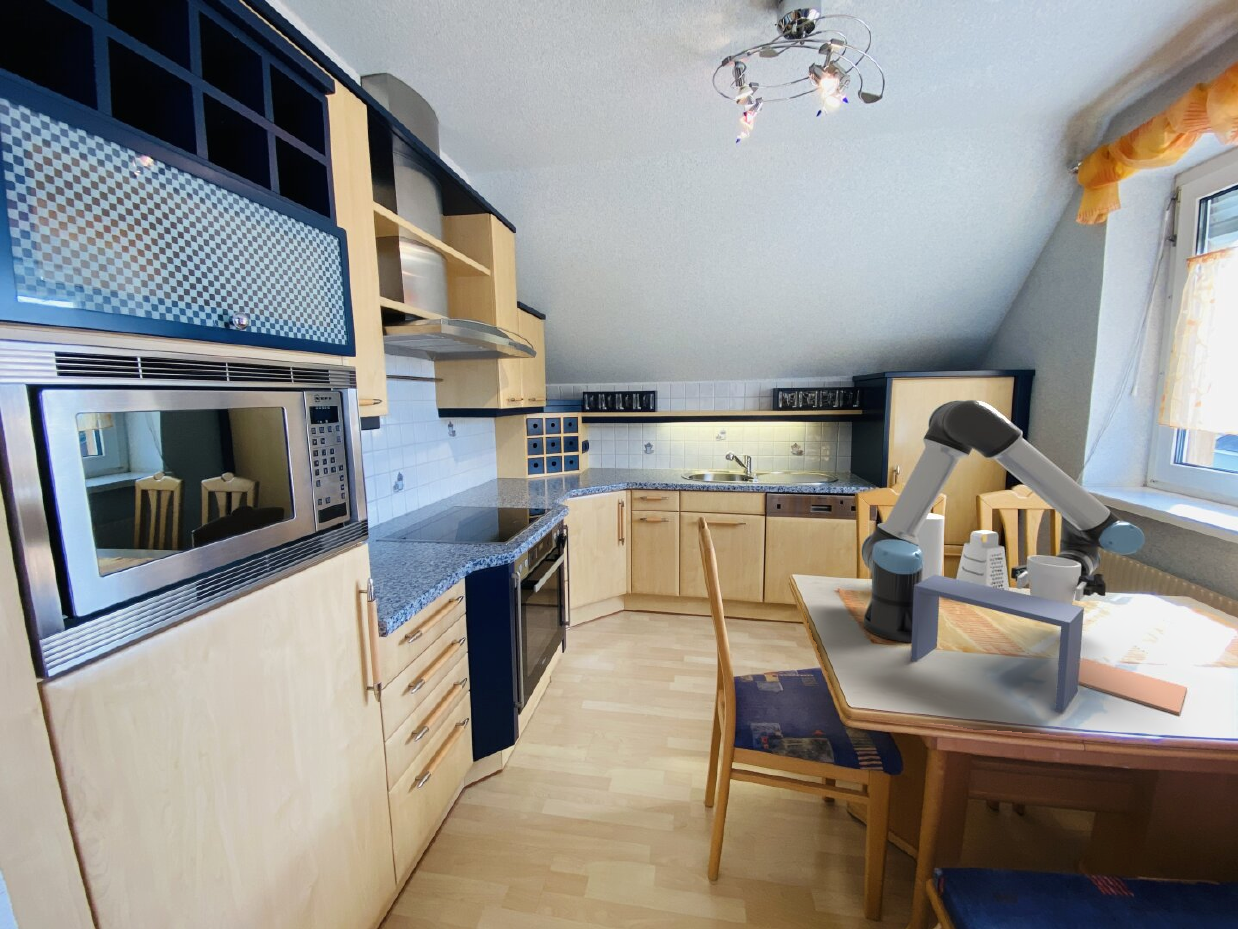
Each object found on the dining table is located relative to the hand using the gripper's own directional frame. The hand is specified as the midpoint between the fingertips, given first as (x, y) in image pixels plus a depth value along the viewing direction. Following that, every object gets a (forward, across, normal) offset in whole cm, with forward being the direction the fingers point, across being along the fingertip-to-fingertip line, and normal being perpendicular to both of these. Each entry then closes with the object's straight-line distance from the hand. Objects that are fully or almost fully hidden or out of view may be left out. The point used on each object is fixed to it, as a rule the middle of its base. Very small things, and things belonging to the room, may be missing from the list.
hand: (1047, 588), depth 111 cm
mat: (-4, -13, -19) cm, 23 cm away
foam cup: (-4, 0, -8) cm, 9 cm away
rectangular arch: (+13, +7, -18) cm, 23 cm away
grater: (-45, +24, -19) cm, 55 cm away
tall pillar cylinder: (-34, +38, -19) cm, 54 cm away
